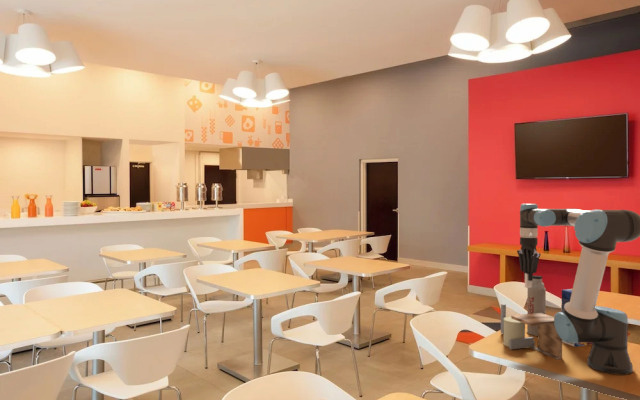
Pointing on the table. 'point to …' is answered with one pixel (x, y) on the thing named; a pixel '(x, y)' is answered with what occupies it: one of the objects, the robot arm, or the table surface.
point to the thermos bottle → (536, 301)
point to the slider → (519, 341)
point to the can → (513, 330)
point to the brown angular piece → (543, 333)
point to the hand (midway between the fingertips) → (528, 287)
